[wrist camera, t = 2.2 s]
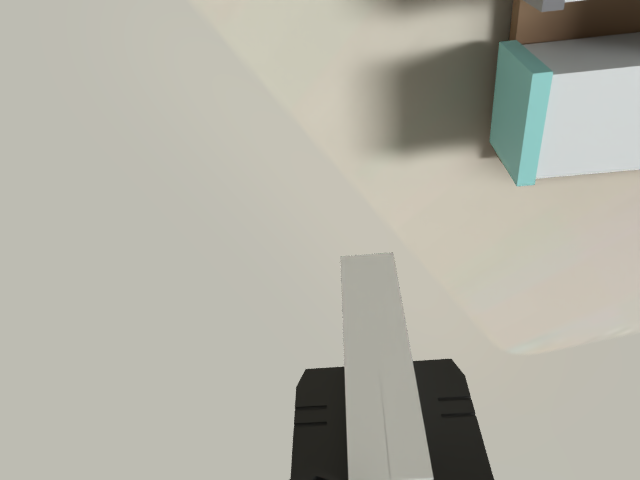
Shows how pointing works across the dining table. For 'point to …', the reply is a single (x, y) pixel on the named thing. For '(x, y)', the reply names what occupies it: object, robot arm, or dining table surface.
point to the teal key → (567, 107)
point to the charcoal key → (548, 4)
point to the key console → (574, 21)
